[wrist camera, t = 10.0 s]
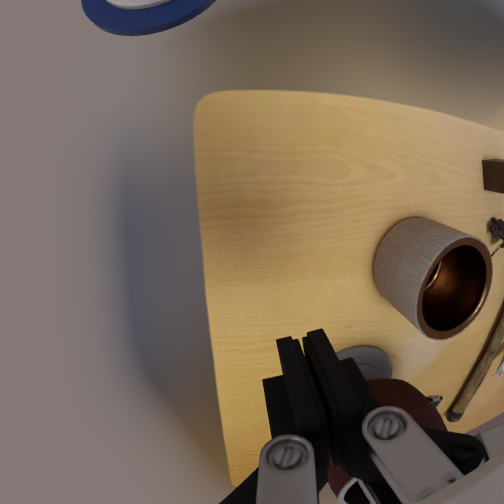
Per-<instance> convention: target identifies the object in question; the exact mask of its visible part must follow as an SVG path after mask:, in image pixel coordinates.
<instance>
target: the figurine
mask: <svg viewBox="0 0 504 504" xmlns="http://www.w3.org/2000/svg"><path fill="white" fill-rule="evenodd" d="M492 222H493V224H492V226H490V228H489V229H490V231H491V232H492V234H493V236H494V237H495V238H496V237H497V236H498V237H500V239H503V240H504V222H503V220H502V219H500V220H496V219H495V218H492ZM501 245H502V246H501ZM501 245H500V247H501V248H503V247H504V242H503V243H502V244H501ZM500 247H499V248H500ZM499 248H498V249H499ZM498 249H497V250H498ZM497 250H496V251H497ZM496 251H495V252H496ZM495 252H494V253H493V254H492V256H493V255H494V254H495ZM492 256H491V257H492Z"/></svg>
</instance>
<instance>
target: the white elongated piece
mask: <svg viewBox="0 0 504 504" xmlns="http://www.w3.org/2000/svg"><path fill="white" fill-rule="evenodd" d="M503 370H504V355H503V357H502V360H501V363H500V364H499V367H498V368H497V371H496V373H495V374H494V375H493V376H494V377H495V376H496V375H497V374H498V373H499V371H500V374H499V378H501V375H502V372H503Z"/></svg>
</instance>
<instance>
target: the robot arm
mask: <svg viewBox="0 0 504 504" xmlns="http://www.w3.org/2000/svg"><path fill="white" fill-rule="evenodd" d="M106 1H107V2H108V3H110V4H111V5H113V6H115V7H118V8H122V9H144V8H150V7H154V6H158V5H160V4H163V3H166V2H168V1H170V0H106ZM302 341H303V348H304V353H303V351H302V348H301V345H300V343H299V340H298V339H294V340H292V337H291V336H289V337H285V338H280V339H276V342H277V347H278V352H279V357H280V362H281V367H282V372H283V375H280V376H276V377H271V378H267V379H263V387H264V393H265V399H266V406H267V412H268V418H269V424H270V430H271V436H272V439H271V440H270V441H269V442H268V443H266V444H265V446H264V447H263V448H262V450H261V453H260V459H259V467H258V468H257V469H256V470H255V471H254V472H253V473H252V474H251V475H250V476H249V477H248V478H247V479H245V480H244V481H243V482H242V483H241V484H240V485H239V486H238V487H237V488H236V489H235V490H234V491H233V492H232V493H231V494H229V495H228V496H227V497H226V498H225V499H224V500H223V501H222V502H221V503H219V504H319V492H320V491H321V489H322V488H323V487H324V485H325V484H326V483H327V482H328V472H327V469H328V468H330V464H329V453H330V456H331V459H332V462H333V465H334V467H335V466H339V465H340V468H341V471H342V473H343V472H347V475H348V476H351V477H354V478H357V481H358V483H359V485H360V487H361V488H362V490H363V491H364V493H365V495H366V496H367V498H368V500H369V501H370V503H371V504H504V422H502V423H500V424H497V425H495V426H492V427H490V428H487V429H485V430H482V431H480V432H479V433H478V434H477V435H475V436H471V435H467V434H461V433H455V432H449V431H443V430H438V429H433V428H428V427H423V426H419V425H418V424H417V423H416V422H415V421H414V420H413V419H412V417H411V416H410V415H409V414H408V413H407V412H405V411H404V410H403V409H401V408H398V407H393V406H385V407H381V406H380V404H379V402H378V400H377V399H376V397H375V395H374V393H373V392H372V390H371V388H370V386H369V385H368V383H367V381H366V379H365V378H364V376H363V374H362V372H361V371H360V369H359V367H358V366H357V364H356V362H355V360H354V359H353V358H352V357H349V358H346V359H343V360H339V359H338V357H337V355H336V353H335V351H334V349H333V347H332V345H331V343H330V342H329V340H328V338H327V336H326V334H325V332H324V330H323V329H322V328H321V329H318V330H314V331H310V332H307V336H306V337H302ZM304 355H305V356H304Z"/></svg>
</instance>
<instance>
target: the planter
mask: <svg viewBox="0 0 504 504" xmlns="http://www.w3.org/2000/svg"><path fill="white" fill-rule="evenodd" d="M492 273H493V267H492V259H491V255H490V252H489V250H488V248H487V246H486V245H485V244H484V243H483V242H482V241H481V240H480V239H478V238H476V237H474V236H472V235H469V234H467V233H464V232H461V231H459V230H456V229H454V228H451V227H449V226H446V225H443V224H441V223H438V222H436V221H433V220H430V219H427V218H422V217H413V218H408V219H405V220H403V221H401V222H399V223H398V224H396V225H395V226H394V227H393V228H392V229H391V230H390V231H389V232H388V233H387V234H386V235H385V237H384V238H383V240H382V242H381V244H380V246H379V248H378V250H377V253H376V257H375V261H374V279H375V283H376V286H377V288H378V290H379V292H380V293H381V295H382V296H383V297H384V298H385V299H386V300H387V301H388V302H389V303H390V304H391V305H392V306H393V307H394V308H396V309H397V310H398V311H399V312H400V313H401V314H402V315H403V316H404V317H406V318H407V319H408V320H409V321H410V322H411V323H412V324H413V325H414V326H415V327H416V328H417V329H418V330H419V331H420V332H421V333H422V334H424V335H425V336H426V337H428V338H430V339H433V340H444V339H448V338H451V337H453V336H455V335H457V334H459V333H460V332H462V331H463V330H464V329H465V328H467V327H468V326H469V325H470V324H471V323H472V321H473V320H474V319H475V318H476V316H477V315H478V314H479V312H480V311H481V309H482V307H483V305H484V303H485V301H486V299H487V296H488V294H489V290H490V287H491V282H492Z"/></svg>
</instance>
